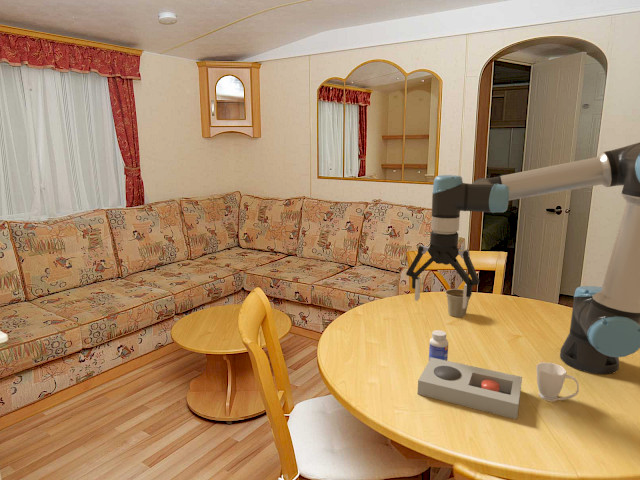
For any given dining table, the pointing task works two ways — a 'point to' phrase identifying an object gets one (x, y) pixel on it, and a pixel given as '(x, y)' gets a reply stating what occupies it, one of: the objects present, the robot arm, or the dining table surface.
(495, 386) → the breaker button
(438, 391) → the grey recessed tray
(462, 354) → the dining table surface
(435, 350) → the pill bottle
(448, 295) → the flower pot
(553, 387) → the cup
